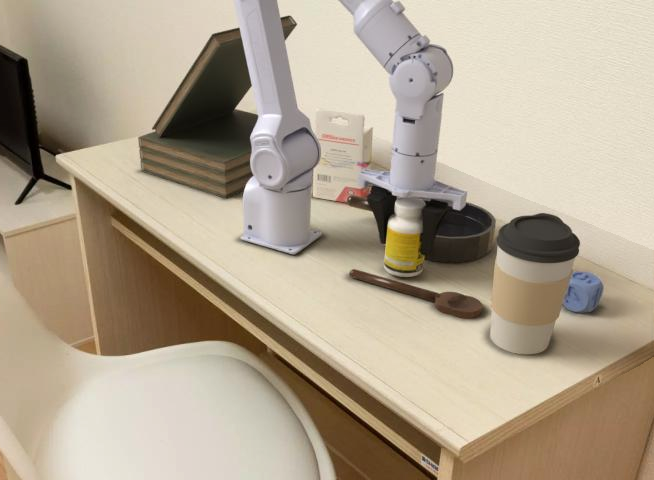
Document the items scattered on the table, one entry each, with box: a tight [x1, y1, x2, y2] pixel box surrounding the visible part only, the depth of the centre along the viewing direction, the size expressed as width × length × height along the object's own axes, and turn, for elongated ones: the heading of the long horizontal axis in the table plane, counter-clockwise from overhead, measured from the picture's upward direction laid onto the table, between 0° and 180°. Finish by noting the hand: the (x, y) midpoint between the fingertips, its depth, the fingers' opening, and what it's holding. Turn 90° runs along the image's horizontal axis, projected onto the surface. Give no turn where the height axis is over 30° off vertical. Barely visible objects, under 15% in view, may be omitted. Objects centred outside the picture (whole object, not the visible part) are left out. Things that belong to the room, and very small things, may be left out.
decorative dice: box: [562, 270, 604, 314], centre depth 102 cm, size 4×4×4 cm
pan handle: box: [346, 195, 395, 214], centre depth 121 cm, size 9×2×2 cm, turn 60°
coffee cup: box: [489, 212, 581, 355], centre depth 91 cm, size 9×9×15 cm
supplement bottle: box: [383, 196, 426, 278], centre depth 106 cm, size 5×5×10 cm
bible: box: [137, 15, 298, 199], centre depth 136 cm, size 23×20×25 cm
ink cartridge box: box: [312, 108, 374, 204], centre depth 128 cm, size 9×5×15 cm, turn 68°
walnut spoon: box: [349, 268, 483, 319], centre depth 104 cm, size 19×4×1 cm, turn 60°
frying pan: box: [423, 200, 497, 263], centre depth 117 cm, size 14×14×4 cm
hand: (405, 246), depth 107 cm, fingers closed on supplement bottle, 5 cm apart
